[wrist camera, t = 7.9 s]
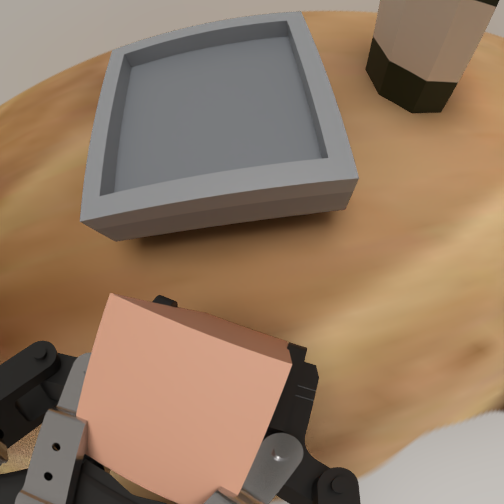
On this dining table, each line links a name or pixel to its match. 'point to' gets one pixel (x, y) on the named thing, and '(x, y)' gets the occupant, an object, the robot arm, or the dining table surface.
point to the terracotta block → (179, 397)
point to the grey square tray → (216, 131)
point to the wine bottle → (425, 49)
